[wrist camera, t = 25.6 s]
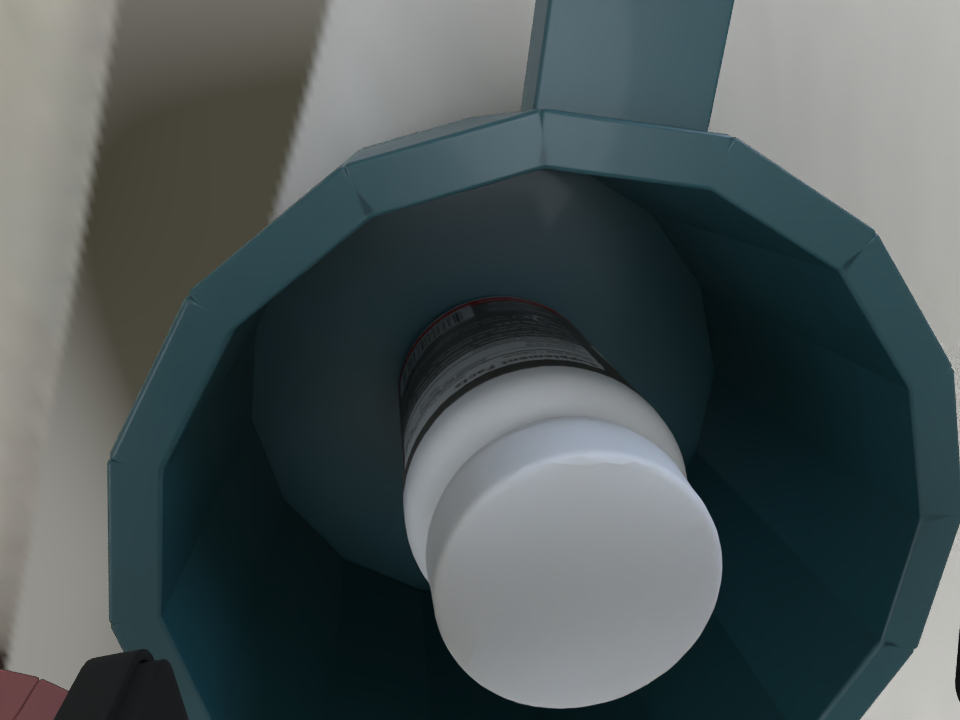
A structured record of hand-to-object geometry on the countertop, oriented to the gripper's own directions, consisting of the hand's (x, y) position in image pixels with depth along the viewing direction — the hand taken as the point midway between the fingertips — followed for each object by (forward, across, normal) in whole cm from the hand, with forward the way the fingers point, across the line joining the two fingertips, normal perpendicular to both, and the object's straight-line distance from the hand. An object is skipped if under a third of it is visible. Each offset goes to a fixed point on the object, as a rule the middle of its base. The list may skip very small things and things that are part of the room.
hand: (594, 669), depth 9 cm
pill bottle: (+10, 0, 0) cm, 10 cm away
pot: (+10, 0, 0) cm, 10 cm away
